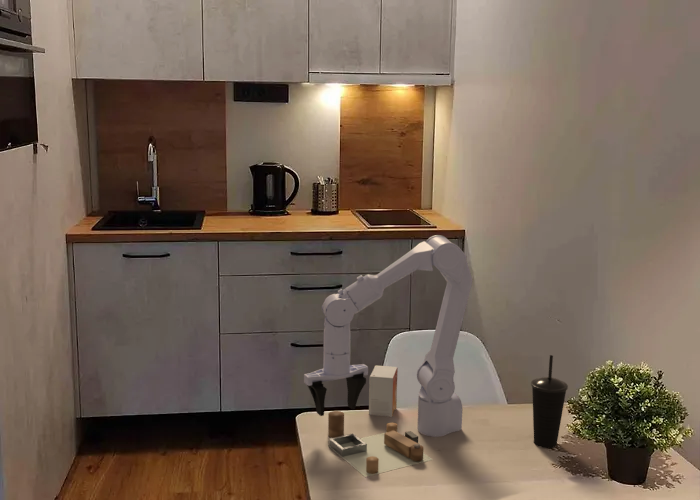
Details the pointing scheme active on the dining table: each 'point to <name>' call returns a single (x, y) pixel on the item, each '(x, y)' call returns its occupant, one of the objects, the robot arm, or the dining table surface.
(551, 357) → the drinking cup
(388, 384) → the small box
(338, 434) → the loose leg
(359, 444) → the socket
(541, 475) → the dining table surface
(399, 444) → the folding leg
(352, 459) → the seat board
